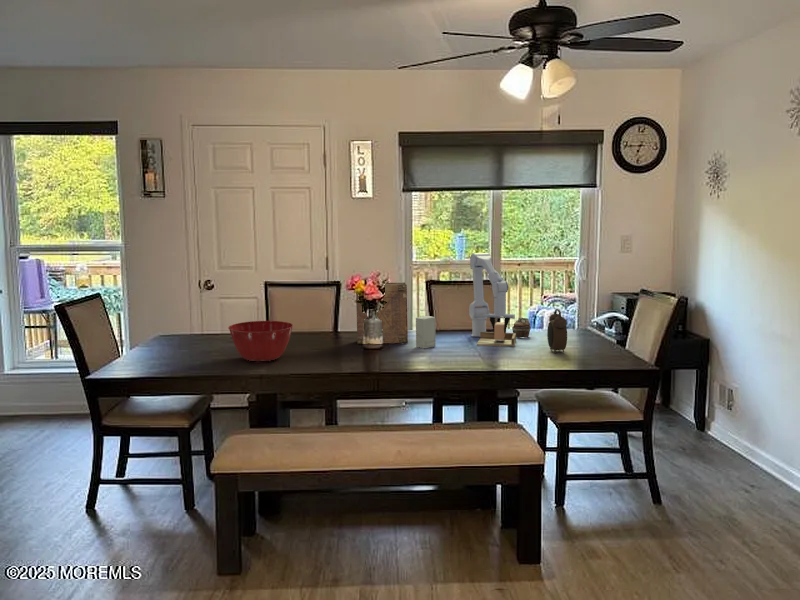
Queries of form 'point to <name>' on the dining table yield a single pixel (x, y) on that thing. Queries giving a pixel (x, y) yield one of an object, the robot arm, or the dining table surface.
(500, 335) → the block
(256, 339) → the mixing bowl
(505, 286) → the robot arm
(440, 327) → the dining table surface
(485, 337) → the wooden tray
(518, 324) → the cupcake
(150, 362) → the dining table surface
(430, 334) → the skincare box
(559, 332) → the brown backpack
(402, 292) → the brown upright rectangular box
